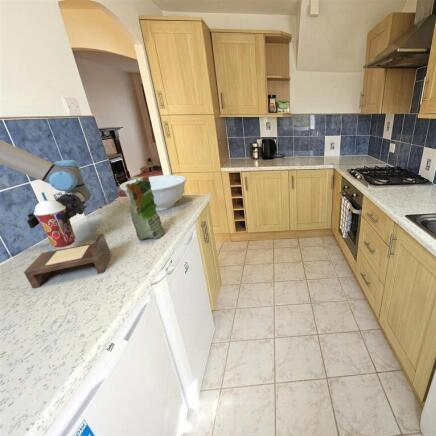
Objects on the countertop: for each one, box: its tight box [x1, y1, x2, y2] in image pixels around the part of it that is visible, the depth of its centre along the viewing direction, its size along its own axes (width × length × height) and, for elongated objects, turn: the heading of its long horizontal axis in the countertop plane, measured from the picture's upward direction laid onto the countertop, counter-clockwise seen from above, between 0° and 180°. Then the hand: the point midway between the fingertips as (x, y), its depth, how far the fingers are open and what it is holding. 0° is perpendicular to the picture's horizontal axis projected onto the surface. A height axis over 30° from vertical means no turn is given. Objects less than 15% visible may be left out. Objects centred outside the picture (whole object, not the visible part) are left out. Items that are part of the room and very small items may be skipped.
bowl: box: [119, 174, 187, 212], centre depth 135 cm, size 32×32×15 cm
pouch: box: [126, 176, 165, 241], centre depth 98 cm, size 11×12×25 cm
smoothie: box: [33, 191, 76, 249], centre depth 86 cm, size 8×8×20 cm
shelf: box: [23, 233, 112, 289], centre depth 80 cm, size 18×12×9 cm, turn 115°
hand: (46, 221), depth 82 cm, fingers closed on smoothie, 8 cm apart
